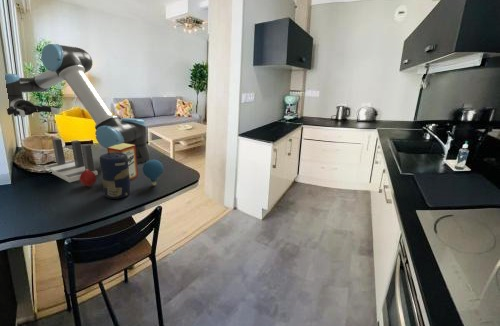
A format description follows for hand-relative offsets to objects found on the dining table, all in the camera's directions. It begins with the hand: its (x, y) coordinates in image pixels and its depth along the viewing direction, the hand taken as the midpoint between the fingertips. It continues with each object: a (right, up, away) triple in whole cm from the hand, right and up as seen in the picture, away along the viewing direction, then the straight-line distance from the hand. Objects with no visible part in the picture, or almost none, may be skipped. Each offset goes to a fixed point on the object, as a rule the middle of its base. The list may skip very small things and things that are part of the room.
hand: (41, 112), depth 119 cm
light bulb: (+56, -34, -8) cm, 66 cm away
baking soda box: (+41, -32, -3) cm, 52 cm away
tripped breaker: (+7, -24, +3) cm, 25 cm away
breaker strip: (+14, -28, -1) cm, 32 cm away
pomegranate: (+31, -34, -13) cm, 48 cm away
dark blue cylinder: (+46, -37, -18) cm, 62 cm away
